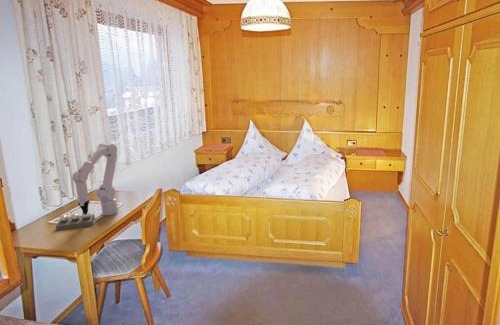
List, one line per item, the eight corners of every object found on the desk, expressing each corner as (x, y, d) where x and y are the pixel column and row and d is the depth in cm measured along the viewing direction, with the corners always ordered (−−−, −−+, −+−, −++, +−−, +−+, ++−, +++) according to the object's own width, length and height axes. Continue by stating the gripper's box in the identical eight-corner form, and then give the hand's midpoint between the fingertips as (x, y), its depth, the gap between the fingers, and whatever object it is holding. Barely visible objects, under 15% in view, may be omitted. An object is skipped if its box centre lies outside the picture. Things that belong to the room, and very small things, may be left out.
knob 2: (91, 220, 226) (90, 211, 224) (90, 222, 222) (89, 214, 220) (83, 221, 225) (82, 212, 223) (82, 224, 220) (81, 215, 219)
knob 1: (70, 223, 223) (68, 214, 221) (68, 225, 219) (67, 217, 217) (61, 224, 222) (60, 215, 220) (60, 227, 218) (58, 218, 216)
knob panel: (94, 217, 230) (94, 213, 229) (92, 225, 218) (91, 221, 218) (60, 222, 225) (60, 218, 224) (56, 230, 214) (55, 226, 213)
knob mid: (80, 221, 224) (79, 212, 223) (79, 224, 220) (78, 215, 219) (72, 222, 223) (71, 213, 222) (71, 225, 219) (70, 216, 218)
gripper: (76, 188, 224) (80, 209, 227) (72, 196, 210) (76, 218, 214) (89, 187, 226) (92, 208, 229) (86, 194, 212) (89, 217, 216)
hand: (85, 213), depth 222 cm, fingers closed, pressing on knob 2
